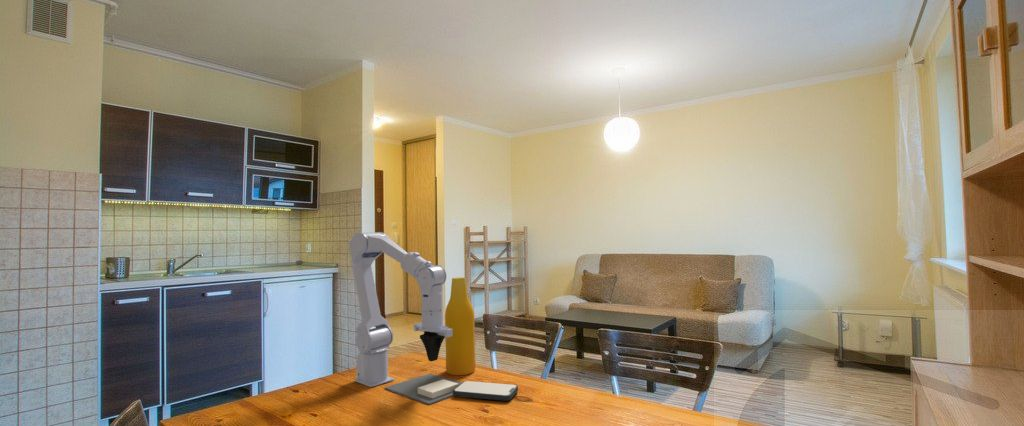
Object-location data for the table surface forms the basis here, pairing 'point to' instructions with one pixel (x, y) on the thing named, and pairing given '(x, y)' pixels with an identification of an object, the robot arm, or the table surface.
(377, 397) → the table surface
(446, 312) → the beer bottle
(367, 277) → the robot arm
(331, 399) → the table surface
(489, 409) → the table surface
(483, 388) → the phone case
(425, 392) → the card deck
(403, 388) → the mat
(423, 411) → the table surface
